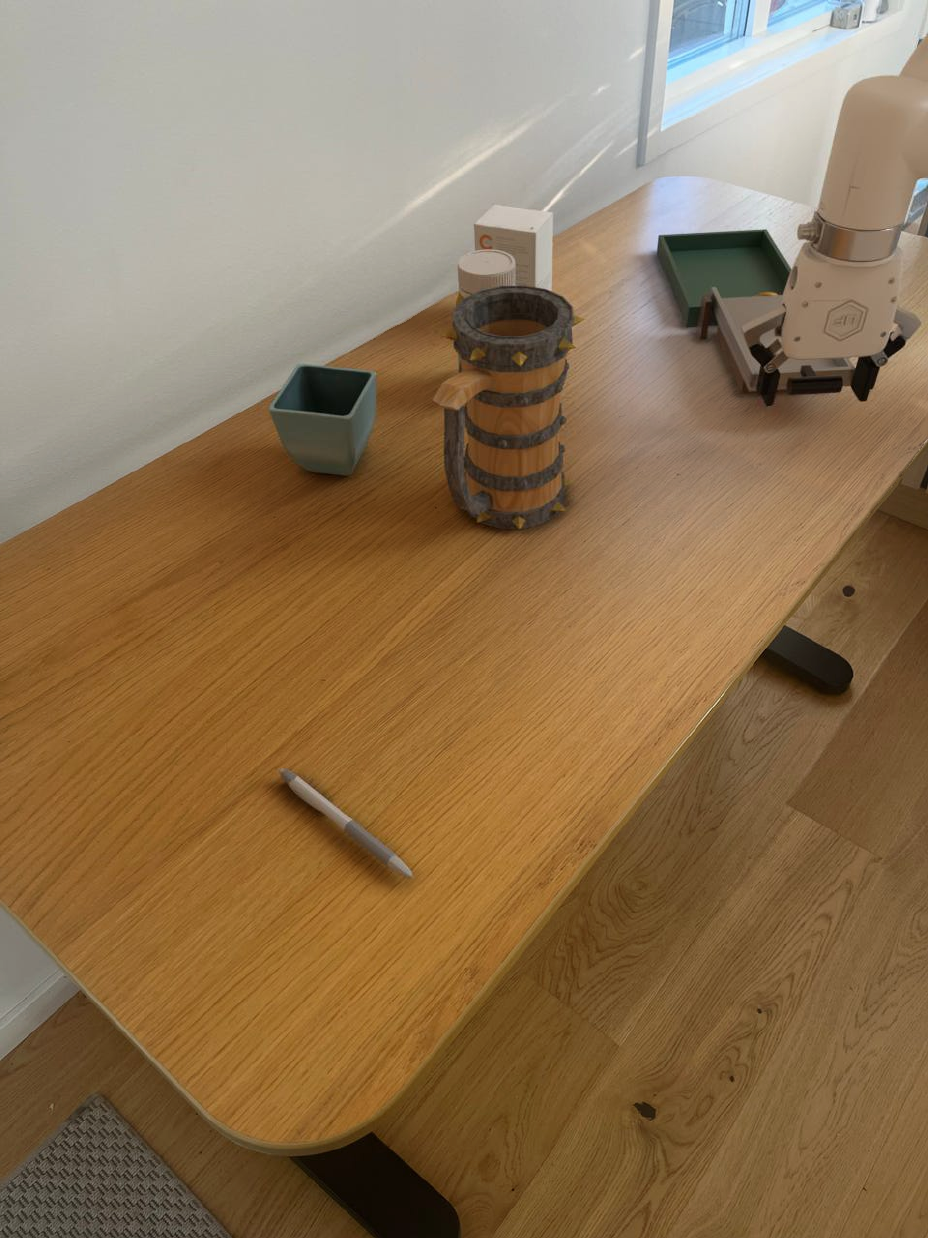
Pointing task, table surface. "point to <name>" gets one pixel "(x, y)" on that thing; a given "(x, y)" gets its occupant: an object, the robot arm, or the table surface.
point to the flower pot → (325, 416)
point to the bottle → (484, 272)
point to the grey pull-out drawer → (793, 373)
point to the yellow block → (766, 294)
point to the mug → (507, 405)
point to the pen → (345, 823)
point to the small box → (520, 241)
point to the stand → (720, 342)
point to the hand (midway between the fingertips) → (811, 396)
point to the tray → (720, 267)
